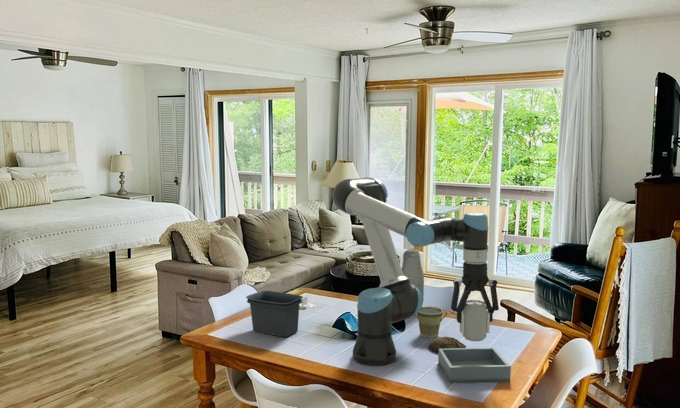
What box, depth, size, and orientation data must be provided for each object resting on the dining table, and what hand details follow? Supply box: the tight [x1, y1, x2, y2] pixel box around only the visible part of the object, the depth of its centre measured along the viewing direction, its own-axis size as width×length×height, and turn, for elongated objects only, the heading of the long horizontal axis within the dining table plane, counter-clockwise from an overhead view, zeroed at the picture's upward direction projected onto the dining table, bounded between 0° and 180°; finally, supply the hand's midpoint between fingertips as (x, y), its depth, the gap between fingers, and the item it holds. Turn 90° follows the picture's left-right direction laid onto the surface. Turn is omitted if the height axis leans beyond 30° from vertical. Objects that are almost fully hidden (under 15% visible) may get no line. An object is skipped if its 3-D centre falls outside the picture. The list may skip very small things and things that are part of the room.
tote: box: [437, 347, 512, 384], centre depth 179 cm, size 19×16×5 cm
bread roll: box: [427, 336, 467, 354], centre depth 199 cm, size 13×12×5 cm
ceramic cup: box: [416, 306, 448, 339], centre depth 214 cm, size 13×10×10 cm
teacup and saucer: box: [299, 296, 314, 309], centre depth 254 cm, size 9×8×4 cm
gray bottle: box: [401, 248, 425, 307], centre depth 243 cm, size 10×10×28 cm
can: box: [462, 299, 488, 342], centre depth 177 cm, size 8×8×12 cm
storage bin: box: [245, 290, 304, 338], centre depth 219 cm, size 21×16×14 cm
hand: (474, 331), depth 178 cm, fingers closed on can, 7 cm apart
